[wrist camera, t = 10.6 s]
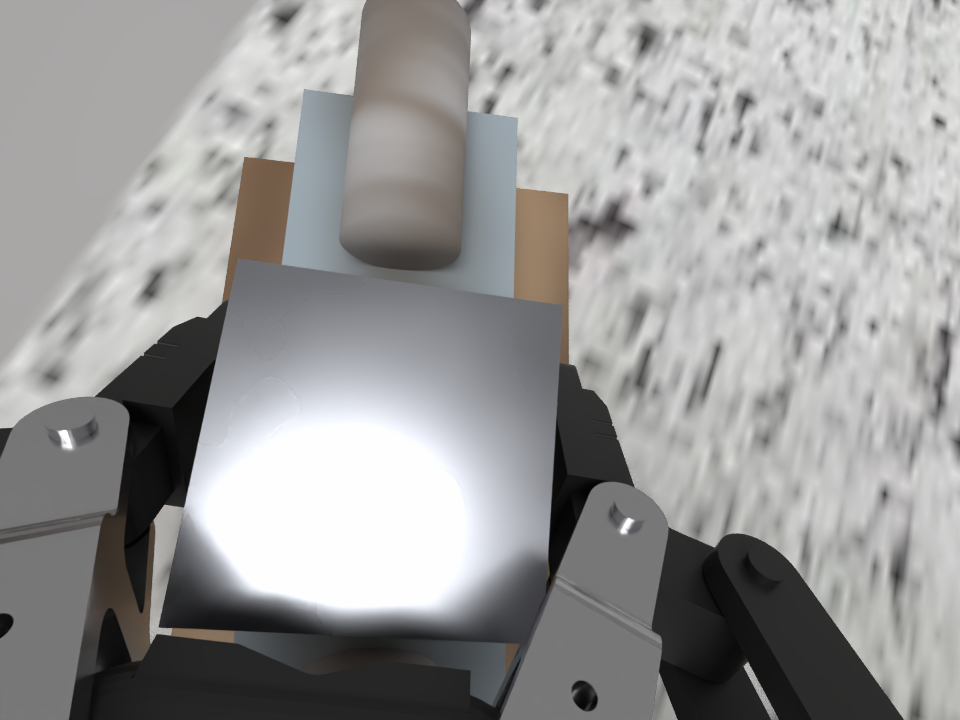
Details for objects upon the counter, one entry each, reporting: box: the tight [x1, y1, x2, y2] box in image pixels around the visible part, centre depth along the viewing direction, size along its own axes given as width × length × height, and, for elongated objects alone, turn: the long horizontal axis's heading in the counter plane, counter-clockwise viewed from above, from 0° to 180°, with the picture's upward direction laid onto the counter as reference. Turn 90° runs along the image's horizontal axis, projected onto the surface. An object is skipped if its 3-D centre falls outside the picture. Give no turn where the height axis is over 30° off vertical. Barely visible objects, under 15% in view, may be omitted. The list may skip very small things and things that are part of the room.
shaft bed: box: [171, 0, 569, 706], centre depth 13 cm, size 12×21×8 cm, turn 178°
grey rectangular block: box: [159, 258, 563, 644], centre depth 11 cm, size 4×6×10 cm
